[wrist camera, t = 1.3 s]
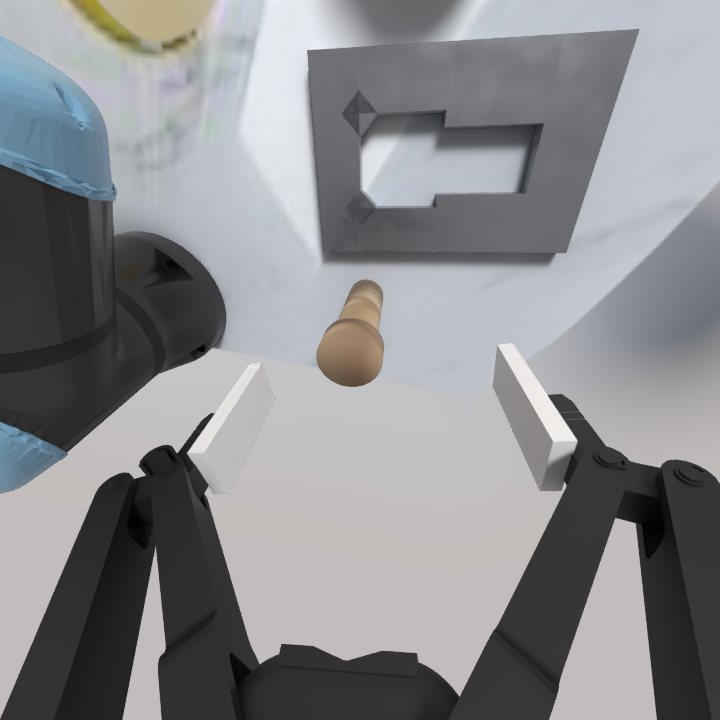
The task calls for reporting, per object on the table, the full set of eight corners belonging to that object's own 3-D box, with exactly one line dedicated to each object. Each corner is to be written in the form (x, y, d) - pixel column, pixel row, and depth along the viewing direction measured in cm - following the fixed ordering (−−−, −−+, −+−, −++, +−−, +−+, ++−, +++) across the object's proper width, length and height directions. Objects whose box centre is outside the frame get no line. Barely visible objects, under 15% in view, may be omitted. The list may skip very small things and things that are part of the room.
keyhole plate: (326, 247, 31) (323, 251, 30) (312, 56, 23) (307, 50, 22) (558, 249, 29) (565, 252, 27) (625, 37, 21) (639, 28, 20)
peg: (345, 316, 35) (319, 384, 24) (343, 273, 32) (313, 329, 21) (388, 317, 34) (381, 388, 23) (389, 274, 32) (383, 331, 21)
